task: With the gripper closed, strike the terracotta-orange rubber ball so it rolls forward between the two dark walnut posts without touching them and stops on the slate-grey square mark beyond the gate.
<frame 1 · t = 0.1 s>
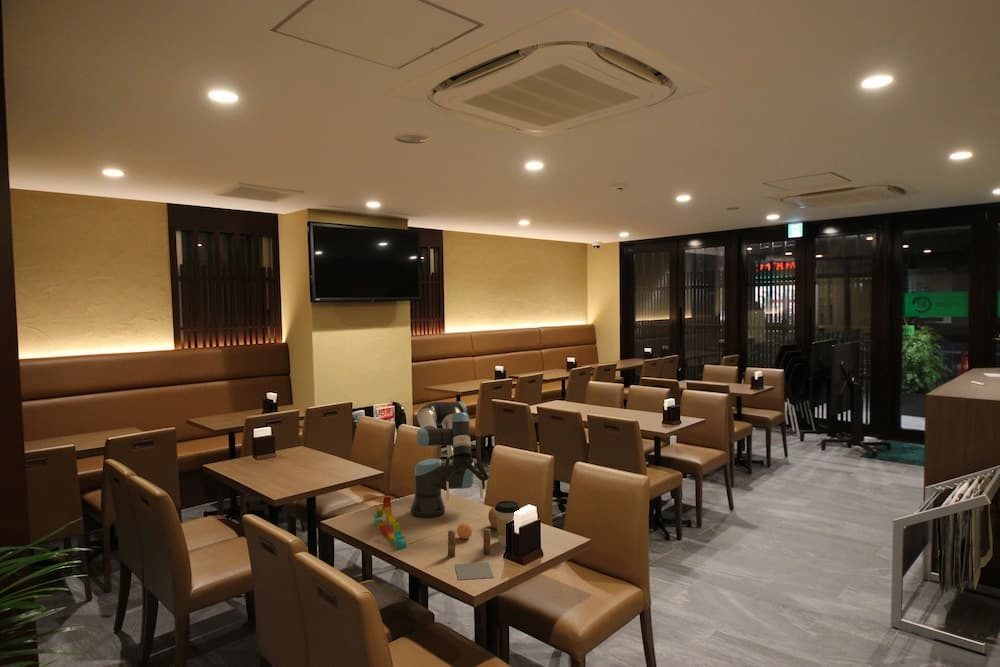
hand: (464, 497, 235), 15 cm above the table, tool tilted 35°, fingers open, 13 cm apart
post 1: (451, 555, 215), on the table
potato: (500, 529, 243), on the table
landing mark: (473, 571, 202), on the table
coffee cup: (506, 542, 229), on the table
post 2: (486, 553, 217), on the table
colorful toy block stack: (389, 536, 235), on the table
ball: (464, 530, 232), on the table
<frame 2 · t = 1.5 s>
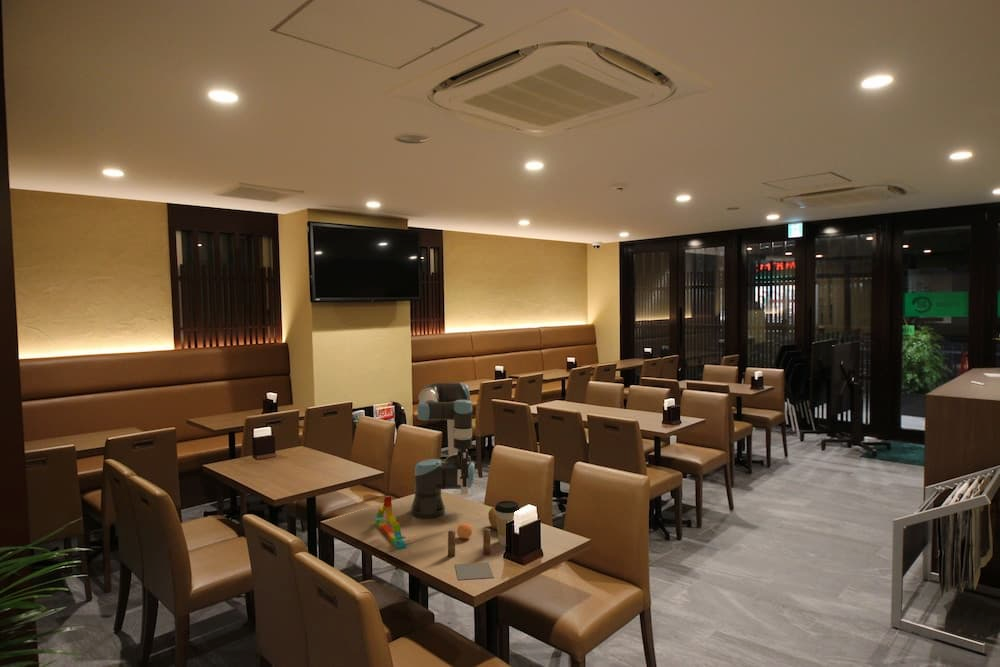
hand: (462, 489, 241), 17 cm above the table, tool pointing down, fingers open, 13 cm apart
nothing on the table moved.
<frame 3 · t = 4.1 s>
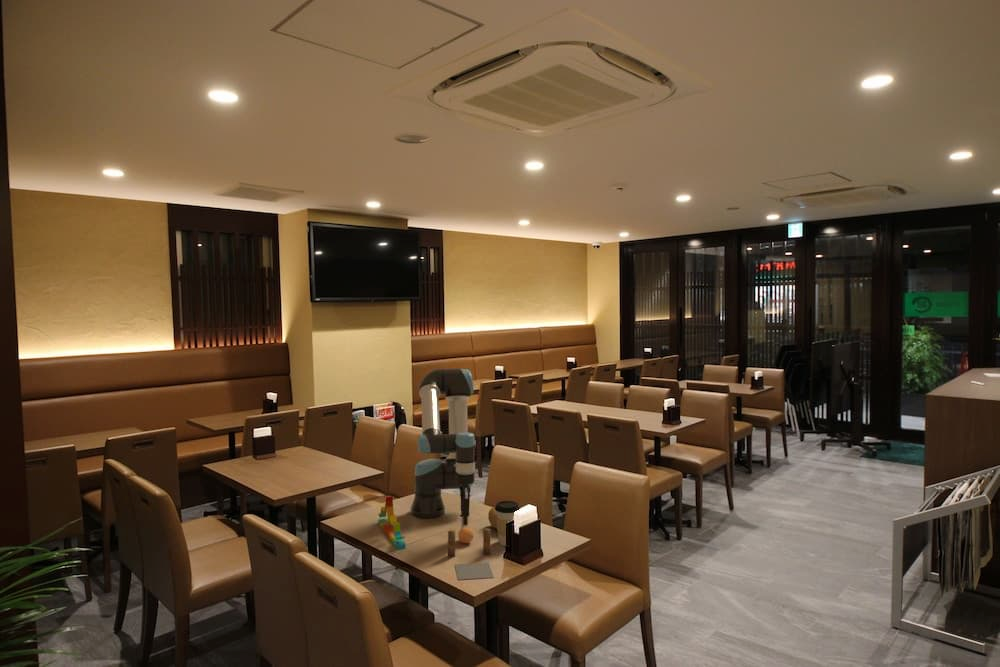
hand: (464, 532, 231), 3 cm above the table, tool pointing down, fingers closed
ball: (465, 535, 228), on the table
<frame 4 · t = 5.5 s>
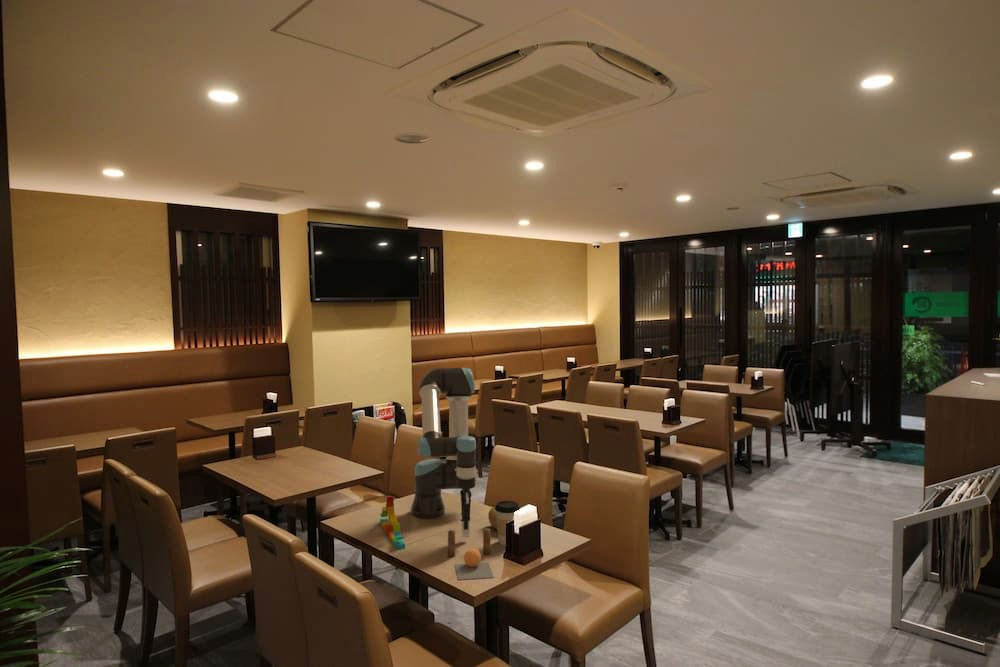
hand: (465, 536, 229), 2 cm above the table, tool pointing down, fingers closed
ball: (472, 557, 206), on the table
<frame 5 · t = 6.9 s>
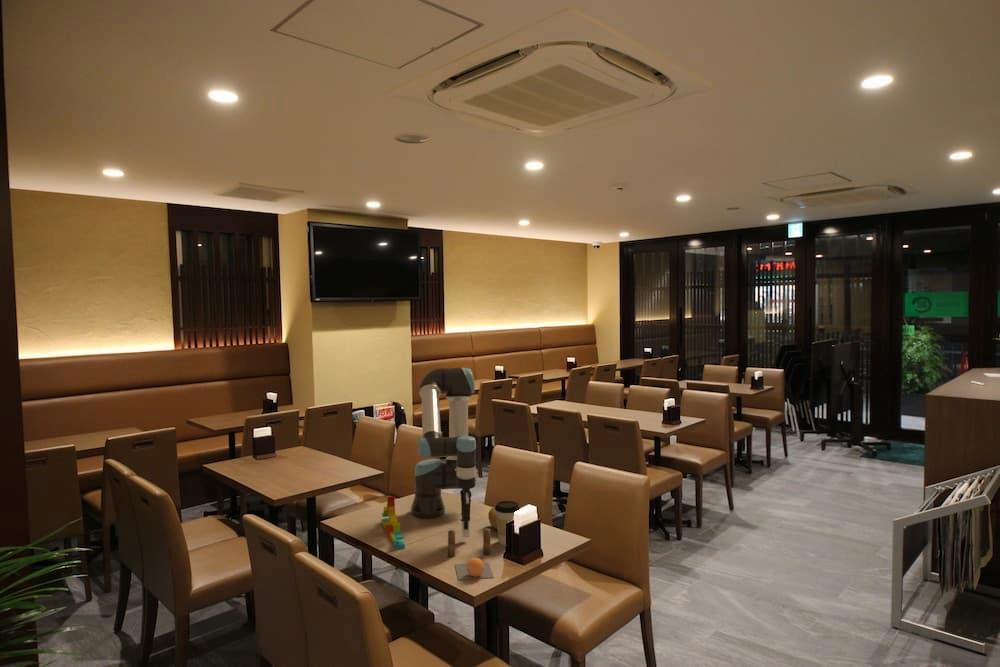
hand: (465, 536, 229), 2 cm above the table, tool pointing down, fingers closed
ball: (475, 567, 199), on the table
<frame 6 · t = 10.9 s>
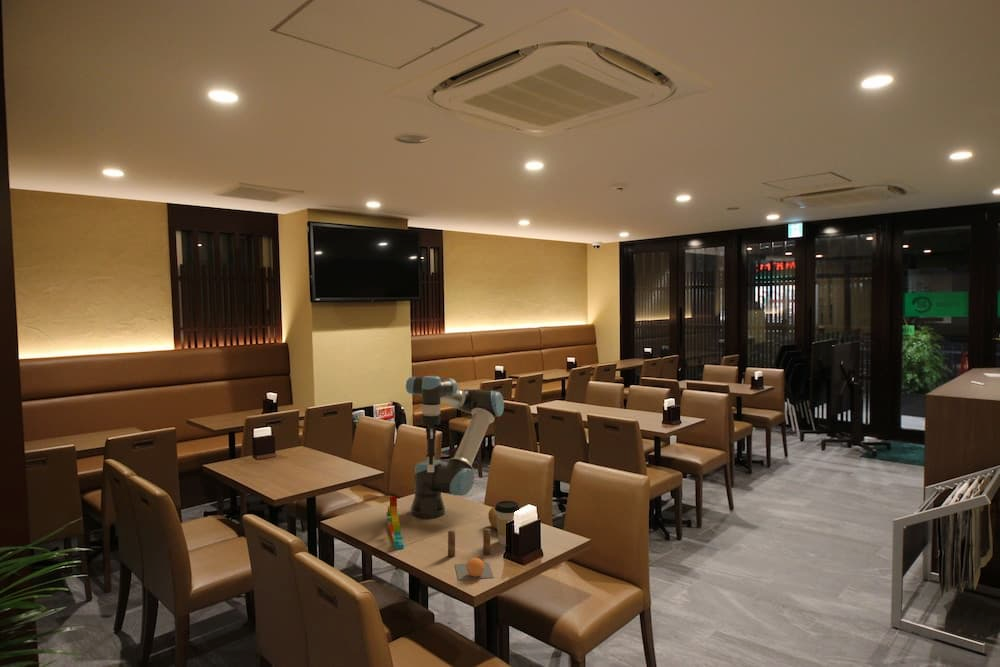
hand: (430, 471, 239), 24 cm above the table, tool pointing down, fingers closed
at the end: ball 3.8 cm from the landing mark (horizontally); ball never touched post 1; ball never touched post 2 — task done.
